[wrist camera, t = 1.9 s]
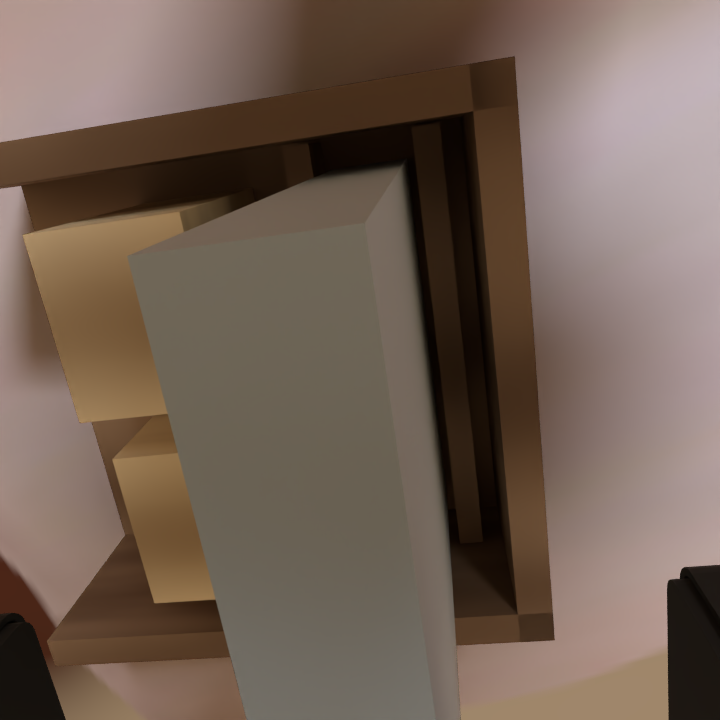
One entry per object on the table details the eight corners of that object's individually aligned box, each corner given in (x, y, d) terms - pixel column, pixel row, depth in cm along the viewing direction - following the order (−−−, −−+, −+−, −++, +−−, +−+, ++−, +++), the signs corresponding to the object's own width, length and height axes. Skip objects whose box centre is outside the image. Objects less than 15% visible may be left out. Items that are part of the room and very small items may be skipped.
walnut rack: (28, 154, 23) (-126, 163, 17) (486, 79, 21) (514, 56, 15) (141, 541, 28) (55, 666, 22) (522, 512, 26) (554, 640, 20)
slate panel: (333, 169, 22) (126, 256, 7) (406, 158, 21) (365, 222, 6) (383, 491, 25) (323, 1018, 10) (446, 486, 25) (479, 1022, 10)
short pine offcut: (183, 384, 25) (112, 459, 19) (288, 372, 24) (246, 446, 18) (212, 501, 26) (154, 603, 21) (311, 493, 26) (279, 595, 20)
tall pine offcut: (139, 204, 23) (22, 234, 16) (252, 187, 22) (179, 211, 16) (173, 343, 24) (79, 423, 18) (279, 330, 24) (224, 408, 17)
